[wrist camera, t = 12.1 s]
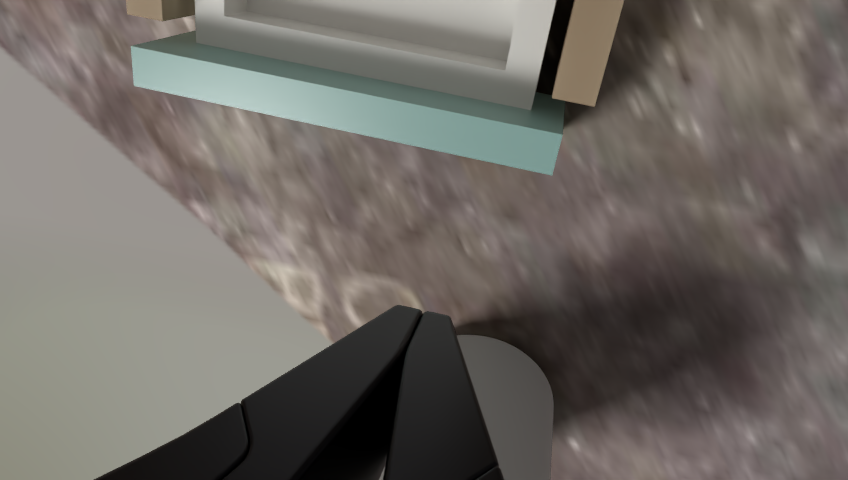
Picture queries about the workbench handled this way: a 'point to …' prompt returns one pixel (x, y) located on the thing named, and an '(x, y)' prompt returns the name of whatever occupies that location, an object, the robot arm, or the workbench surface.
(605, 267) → the workbench surface
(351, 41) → the tray
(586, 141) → the workbench surface
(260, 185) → the workbench surface
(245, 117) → the workbench surface
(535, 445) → the beverage can
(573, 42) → the dock
